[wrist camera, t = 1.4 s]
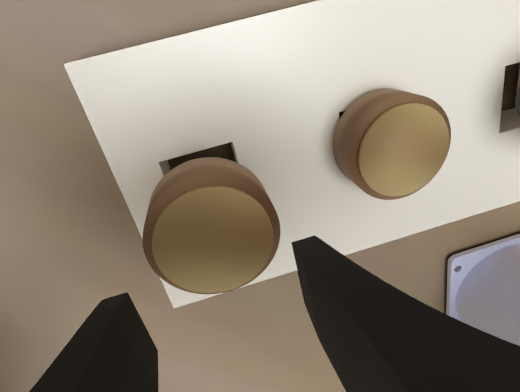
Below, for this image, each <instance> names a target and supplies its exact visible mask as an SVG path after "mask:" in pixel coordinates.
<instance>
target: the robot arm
mask: <svg viewBox="0 0 520 392" xmlns="http://www.w3.org/2000/svg"><path fill="white" fill-rule="evenodd" d="M291 243H292V248H293V252H294V257H295V261H296V266H297V270H298V275H299V279H300V284H301V288H302V293H303V298H304V302H305V305H306V308H307V310H308V313H309V315H310V318H311V321H312V323H313V326H314V328H315V331H316V333H317V336H318V338H319V340H320V342H321V344H322V346H323V348H324V350H325V352H326V354H327V356H328V358H329V360H330V362H331V363H332V365H333V367H334V369H335V371H336V373H337V375H338V377H339V379H340V381H341V383H342V384H343V386H344V388H345V390H346V392H520V234H516V235H513V236H510V237H507V238H504V239H501V240H498V241H494V242H491V243H488V244H485V245H482V246H479V247H476V248H472V249H469V250H466V251H463V252H460V253H457V254H454V255H452V256H451V257H450V258H449V259H448V270H447V308H446V314H444V313H442V312H440V311H438V310H436V309H434V308H432V307H430V306H428V305H426V304H424V303H422V302H420V301H418V300H417V299H415V298H413V297H411V296H409V295H408V294H406V293H404V292H402V291H400V290H398V289H397V288H395V287H393V286H392V285H390V284H388V283H386V282H385V281H383V280H381V279H380V278H378V277H377V276H375V275H373V274H372V273H370V272H369V271H367V270H365V269H364V268H362V267H361V266H359V265H357V264H356V263H354V262H353V261H351V260H350V259H348V258H347V257H346V256H344V255H343V254H341V253H340V252H338V251H337V250H335V249H334V248H333V247H331V246H330V245H328V244H327V243H326V242H324V241H323V240H321V239H320V238H318V237H317V236H315V235H314V236H311V237H308V238H304V239H301V240H298V241H295V242H291ZM29 392H158V352H157V348H156V347H155V345H154V343H153V341H152V339H151V337H150V335H149V333H148V331H147V329H146V327H145V325H144V323H143V321H142V320H141V318H140V316H139V314H138V312H137V310H136V308H135V306H134V304H133V302H132V300H131V298H130V296H129V294H128V293H123V294H120V295H117V296H114V297H110V298H107V299H104V300H102V301H101V302H100V303H99V304H98V305H97V307H96V308H95V309H94V310H93V311H92V313H91V314H90V315H89V316H88V318H87V319H86V320H85V322H84V323H83V324H82V325H81V327H80V328H79V329H78V331H77V332H76V333H75V334H74V336H73V337H72V338H71V340H70V341H69V342H68V344H67V345H66V346H65V347H64V349H63V350H62V351H61V353H60V354H59V355H58V356H57V358H56V359H55V360H54V361H53V363H52V364H51V365H50V367H49V368H48V369H47V370H46V372H45V373H44V374H43V375H42V377H41V378H40V379H39V381H38V382H37V383H36V384H35V385H34V387H33V388H32V389H31V390H30V391H29Z"/></svg>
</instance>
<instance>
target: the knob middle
mask: <svg viewBox="0 0 520 392" xmlns="http://www.w3.org/2000/svg"><path fill="white" fill-rule="evenodd" d="M339 117H340V120H339V122H338V124H337V126H336V129H335V133H334V138H333V154H334V158H335V161H336V164H337V166H338V167H339V169H340V170H341V172H342V173H343V174H344V175H345V176H346V177H348V178H349V179H350V180H351V181H352V182H353V183H354V184H356V185H357V186H358V187H359V188H360V189H361V190H363V191H364V192H365V193H367V194H368V195H370V196H372V197H374V198H378V199H383V200H394V199H400V198H404V197H407V196H409V195H411V194H413V193H415V192H417V191H419V190H420V189H422V188H423V187H424V186H425V185H427V184H428V183H429V182H430V181H431V180H432V179H433V178H434V177H435V175H436V174H437V173H438V171H439V170H440V169H441V167H442V165H443V163H444V161H445V159H446V157H447V154H448V151H449V147H450V142H451V128H450V123H449V120H448V117H447V115H446V113H445V111H444V110H443V108H442V107H441V106H440V105H439V104H438V103H437V102H435V101H434V100H432V99H430V98H428V97H426V96H422V95H418V94H414V93H410V92H406V91H401V90H397V89H391V88H383V89H377V90H374V91H371V92H368V93H366V94H364V95H363V96H361V97H360V98H358V99H357V100H355V101H354V102H353V103H352V104H351V105H350V106H349V107H348V108H347V109H346V110H345V111H342V112H339Z"/></svg>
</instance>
